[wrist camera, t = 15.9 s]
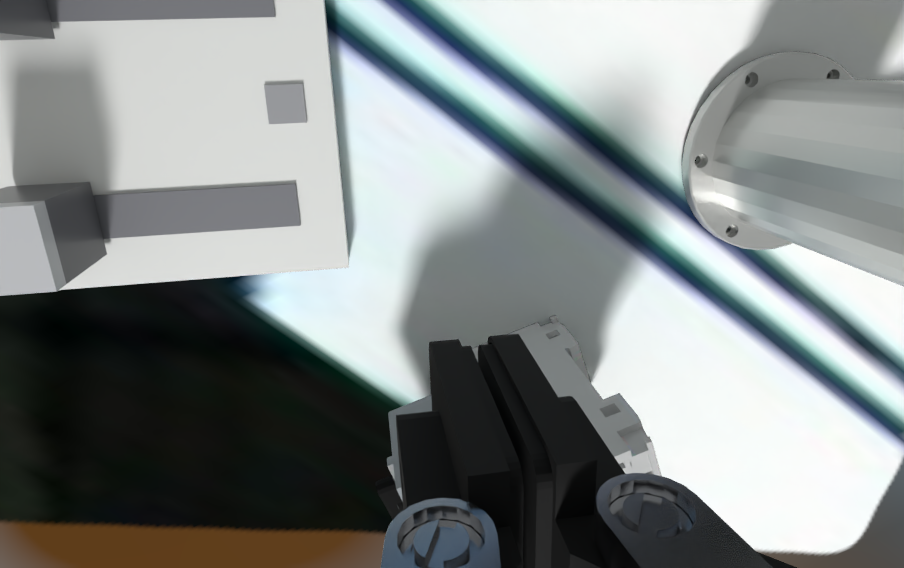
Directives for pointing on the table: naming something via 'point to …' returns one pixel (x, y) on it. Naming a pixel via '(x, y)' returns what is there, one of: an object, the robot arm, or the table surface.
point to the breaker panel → (183, 134)
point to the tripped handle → (25, 20)
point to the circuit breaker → (566, 379)
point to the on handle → (47, 236)
